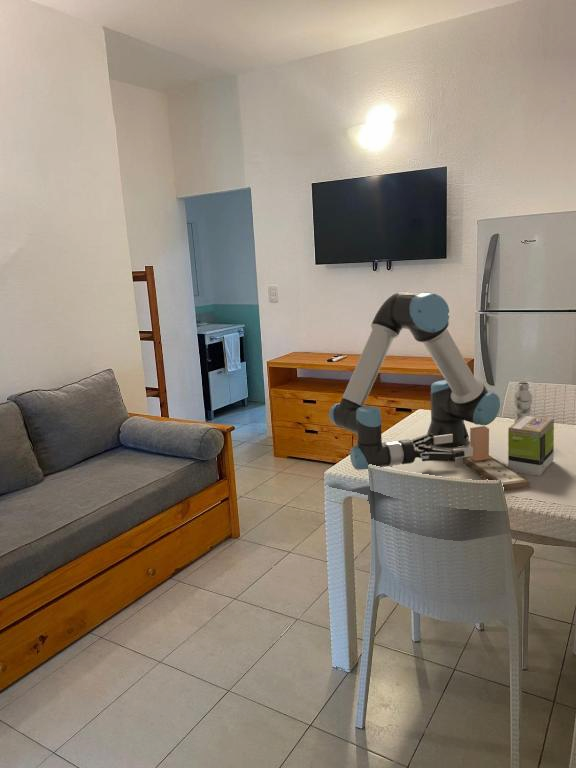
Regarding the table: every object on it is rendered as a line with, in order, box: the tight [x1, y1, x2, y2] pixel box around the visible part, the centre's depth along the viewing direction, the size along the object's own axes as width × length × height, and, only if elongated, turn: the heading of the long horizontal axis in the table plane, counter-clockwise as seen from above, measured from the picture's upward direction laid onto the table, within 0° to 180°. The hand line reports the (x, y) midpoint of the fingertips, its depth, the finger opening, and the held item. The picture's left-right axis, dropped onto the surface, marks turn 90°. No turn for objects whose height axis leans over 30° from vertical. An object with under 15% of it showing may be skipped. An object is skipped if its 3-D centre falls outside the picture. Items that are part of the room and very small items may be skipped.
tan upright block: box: [467, 425, 493, 461], centre depth 188 cm, size 5×6×10 cm
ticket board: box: [461, 456, 531, 492], centre depth 181 cm, size 24×9×2 cm, turn 11°
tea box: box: [507, 415, 555, 477], centre depth 184 cm, size 15×10×15 cm, turn 141°
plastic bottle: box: [513, 381, 533, 424], centre depth 213 cm, size 6×7×20 cm
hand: (462, 444), depth 185 cm, fingers open, 13 cm apart
